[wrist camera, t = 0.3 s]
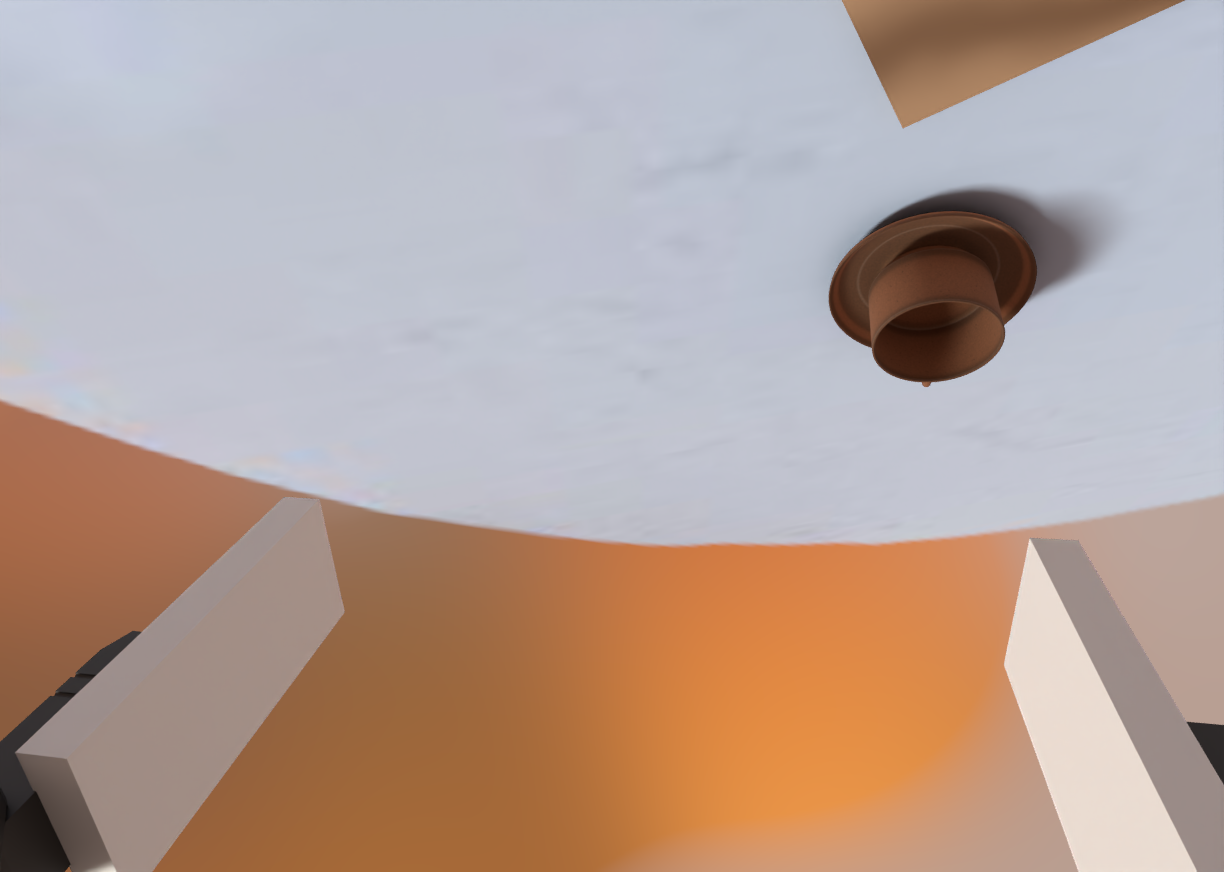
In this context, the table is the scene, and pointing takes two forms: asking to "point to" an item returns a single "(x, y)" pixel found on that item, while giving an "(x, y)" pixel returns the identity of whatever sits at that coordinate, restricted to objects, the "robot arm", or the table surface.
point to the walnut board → (976, 42)
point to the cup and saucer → (933, 293)
